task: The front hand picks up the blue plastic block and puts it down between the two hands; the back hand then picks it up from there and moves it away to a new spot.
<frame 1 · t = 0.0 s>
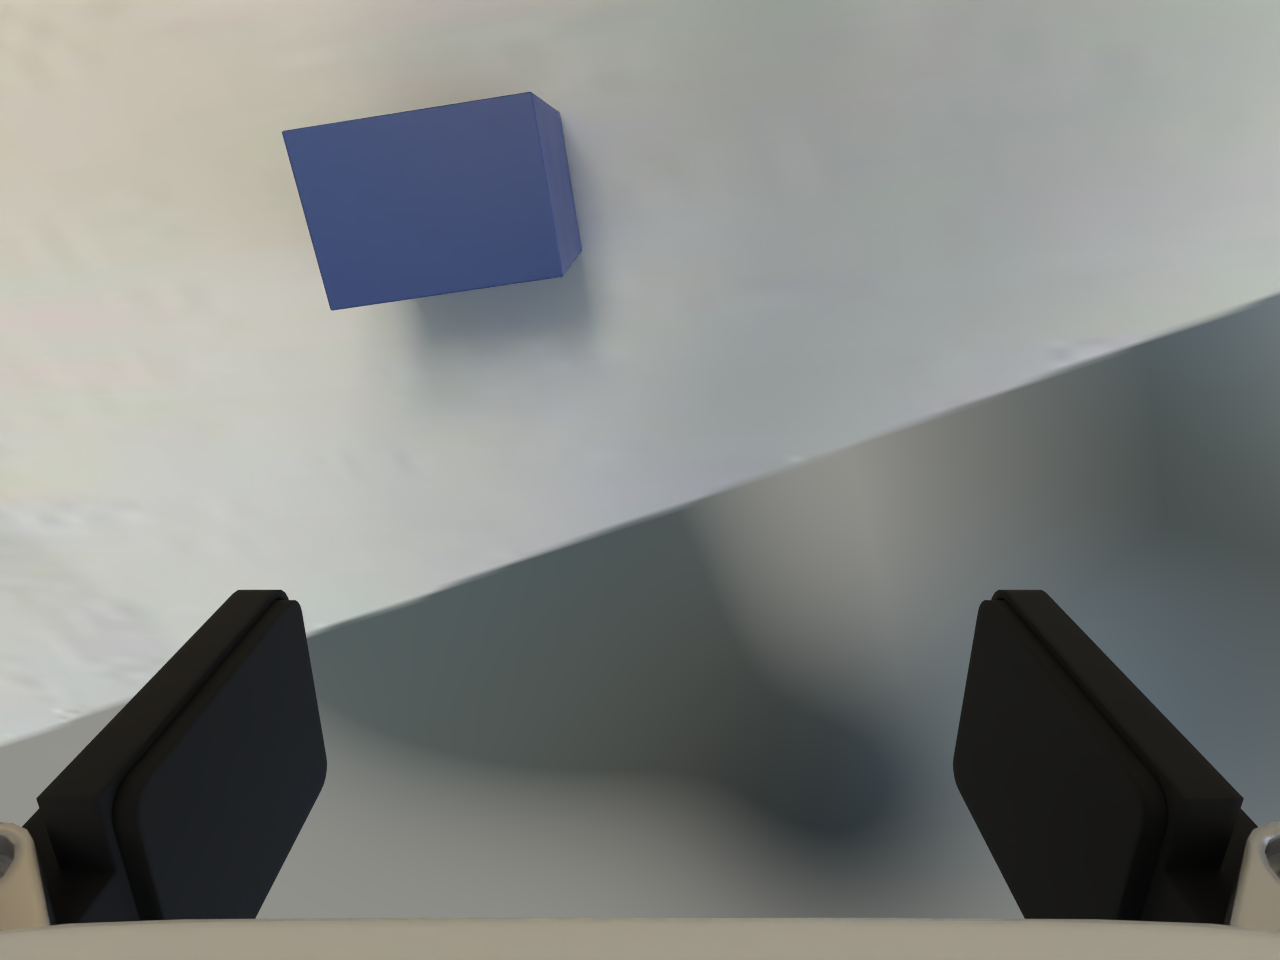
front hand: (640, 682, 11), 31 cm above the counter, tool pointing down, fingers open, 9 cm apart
block: (479, 197, 38), on the counter
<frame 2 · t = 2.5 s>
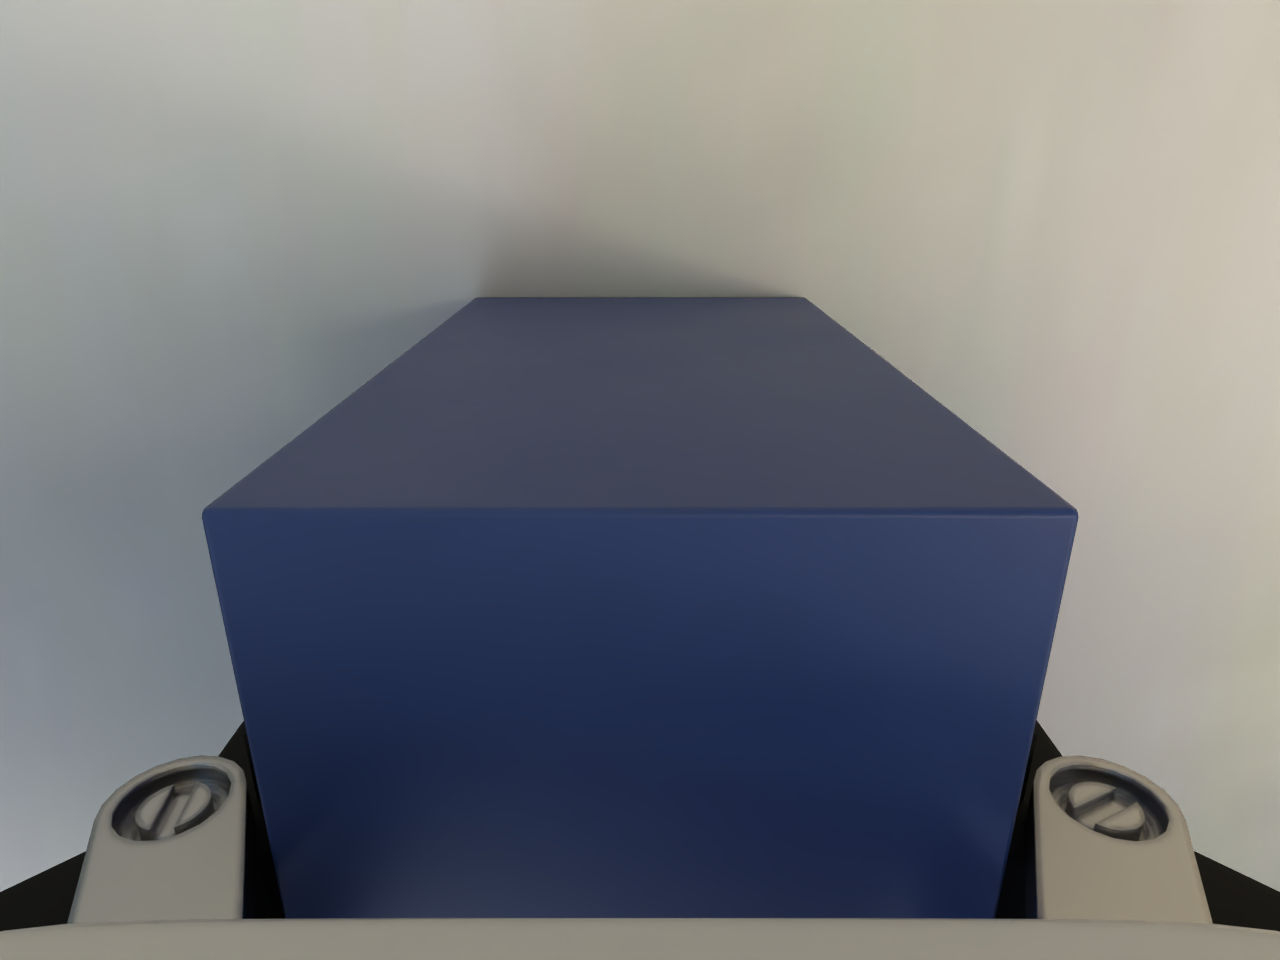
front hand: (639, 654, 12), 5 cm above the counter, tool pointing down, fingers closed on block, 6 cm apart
block: (640, 513, 17), on the counter, touching front hand
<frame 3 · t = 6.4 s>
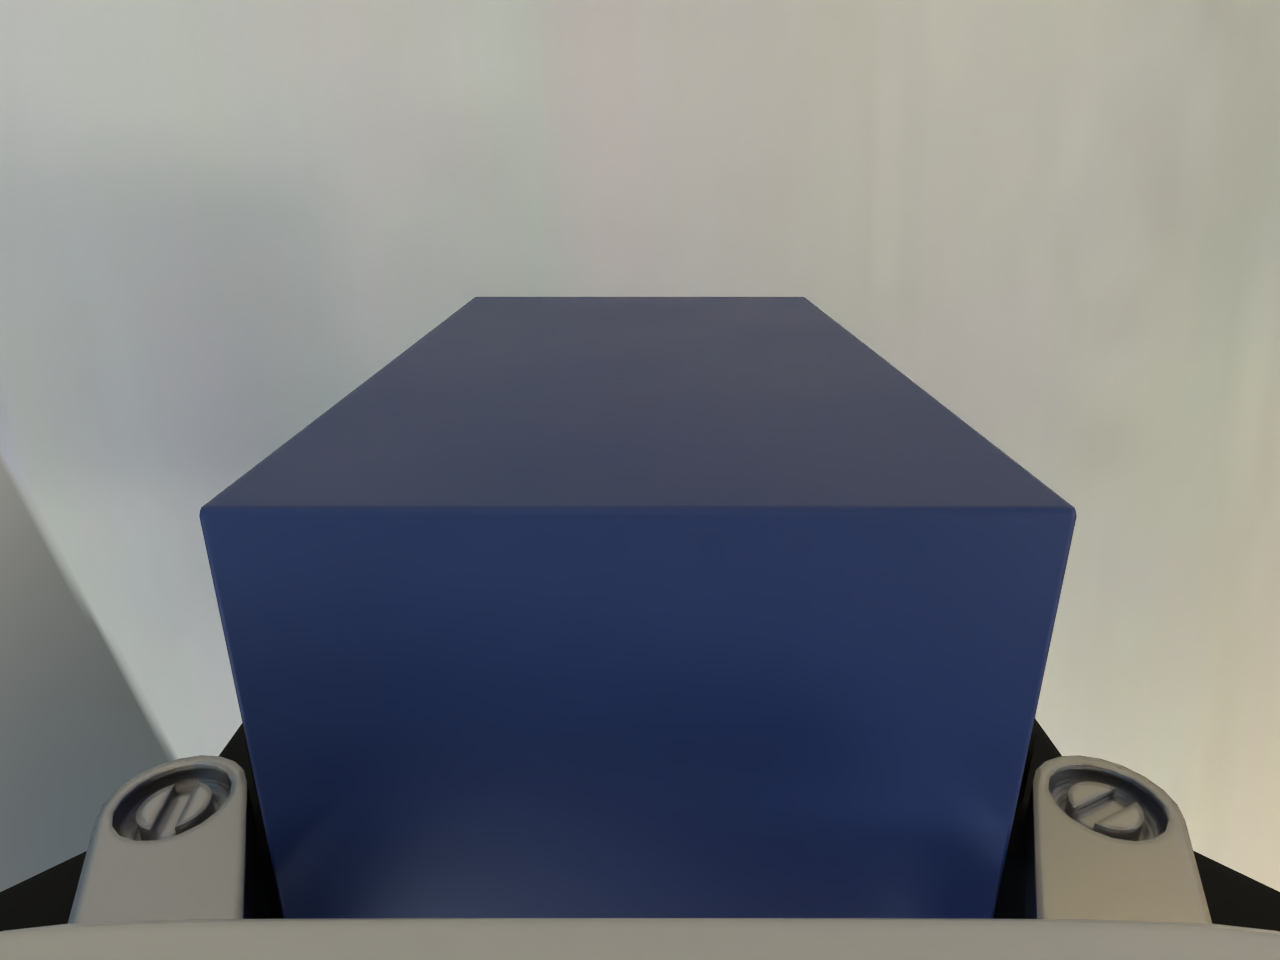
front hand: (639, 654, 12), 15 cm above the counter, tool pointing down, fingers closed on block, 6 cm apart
block: (639, 512, 17), point 10 cm above the counter, touching front hand
when the front hand's fingers open (6 cm above the counter, at t = 10.5 s): block drops 1 cm, on the counter.
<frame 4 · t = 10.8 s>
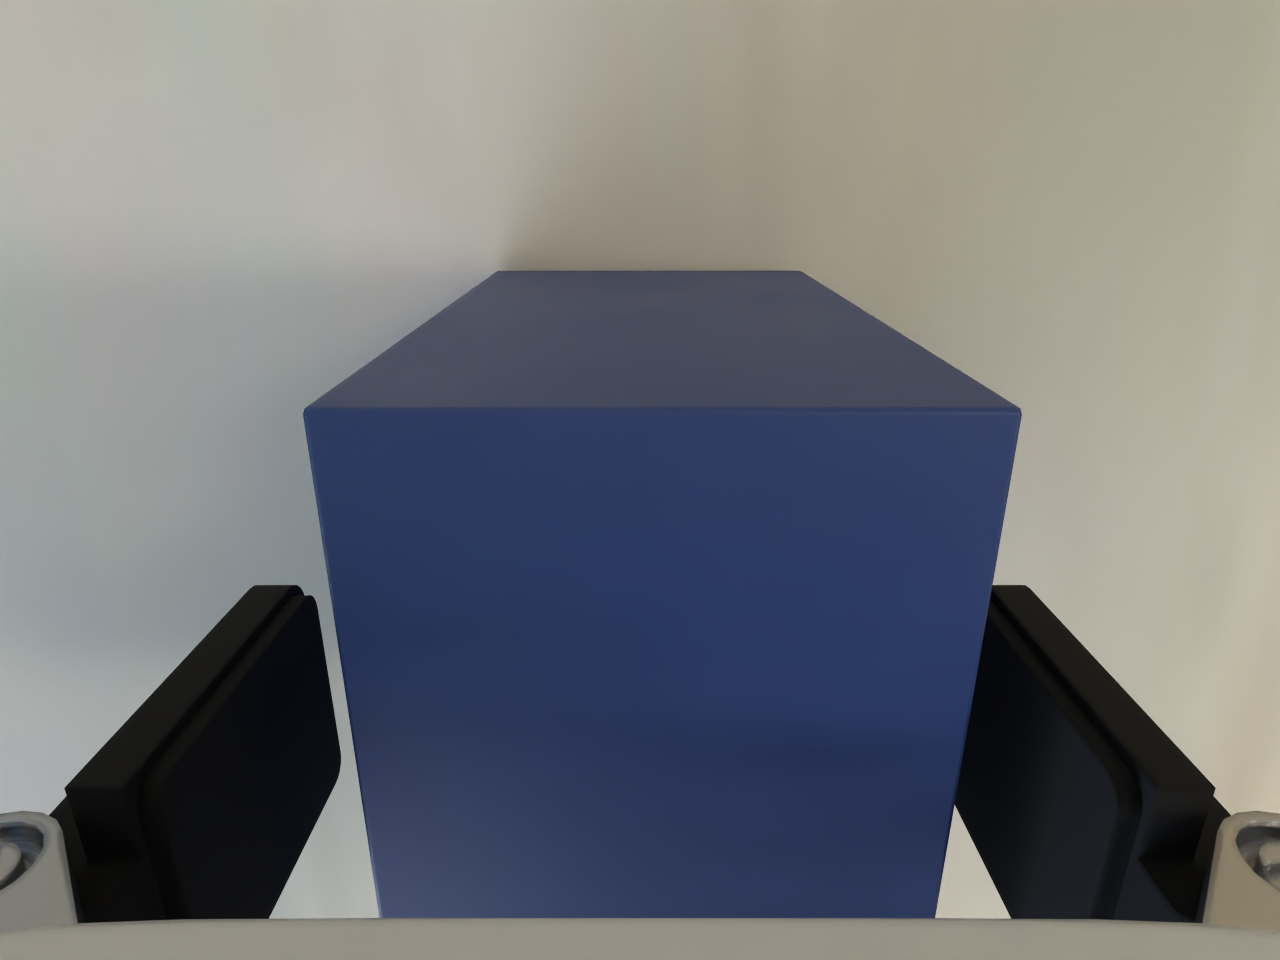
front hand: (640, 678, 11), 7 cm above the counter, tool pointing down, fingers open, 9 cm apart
block: (648, 474, 18), on the counter
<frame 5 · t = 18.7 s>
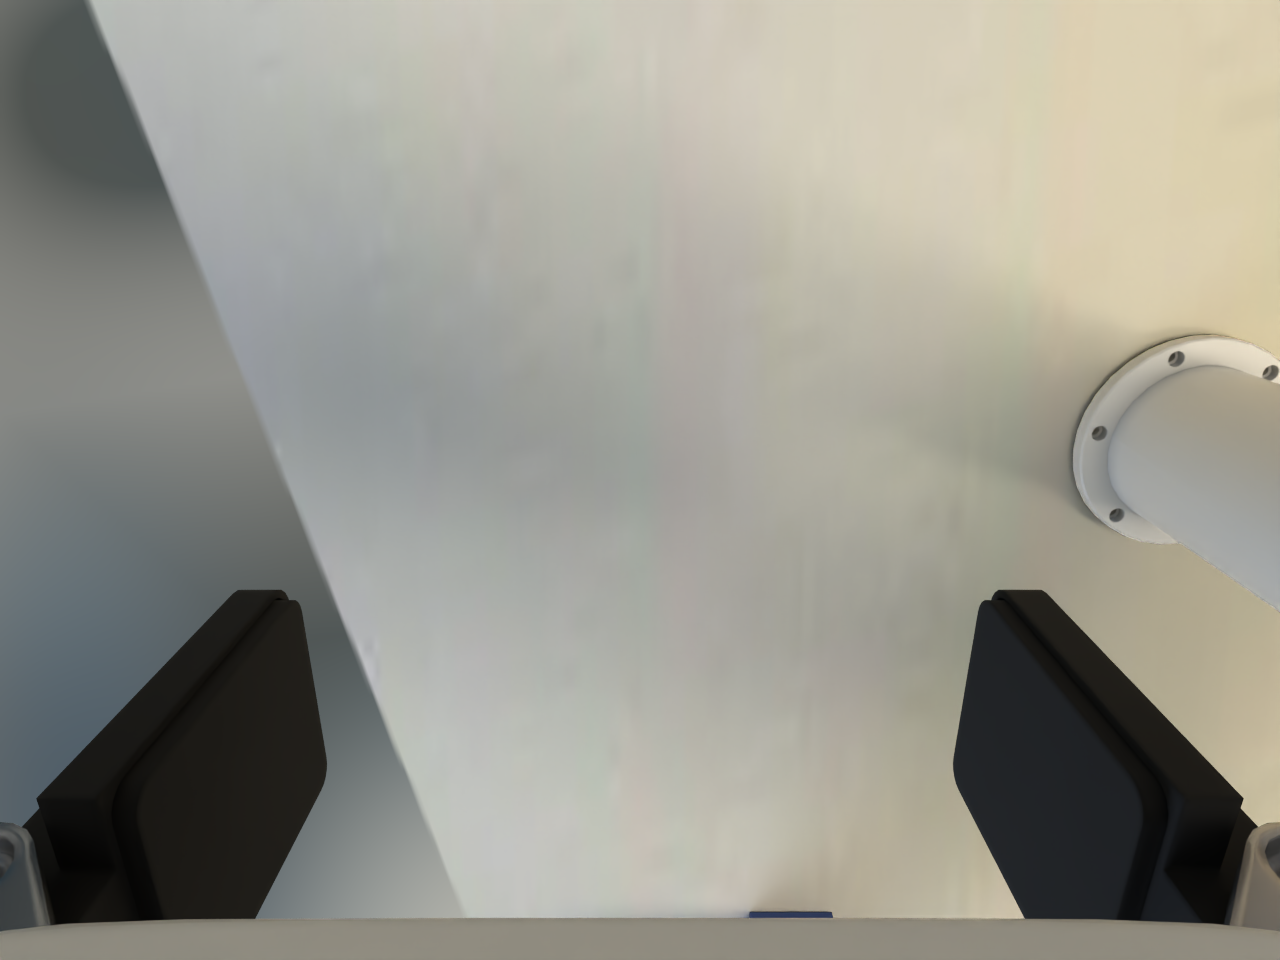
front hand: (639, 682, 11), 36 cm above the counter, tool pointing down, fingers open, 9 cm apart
block: (786, 954, 63), on the counter, touching back hand
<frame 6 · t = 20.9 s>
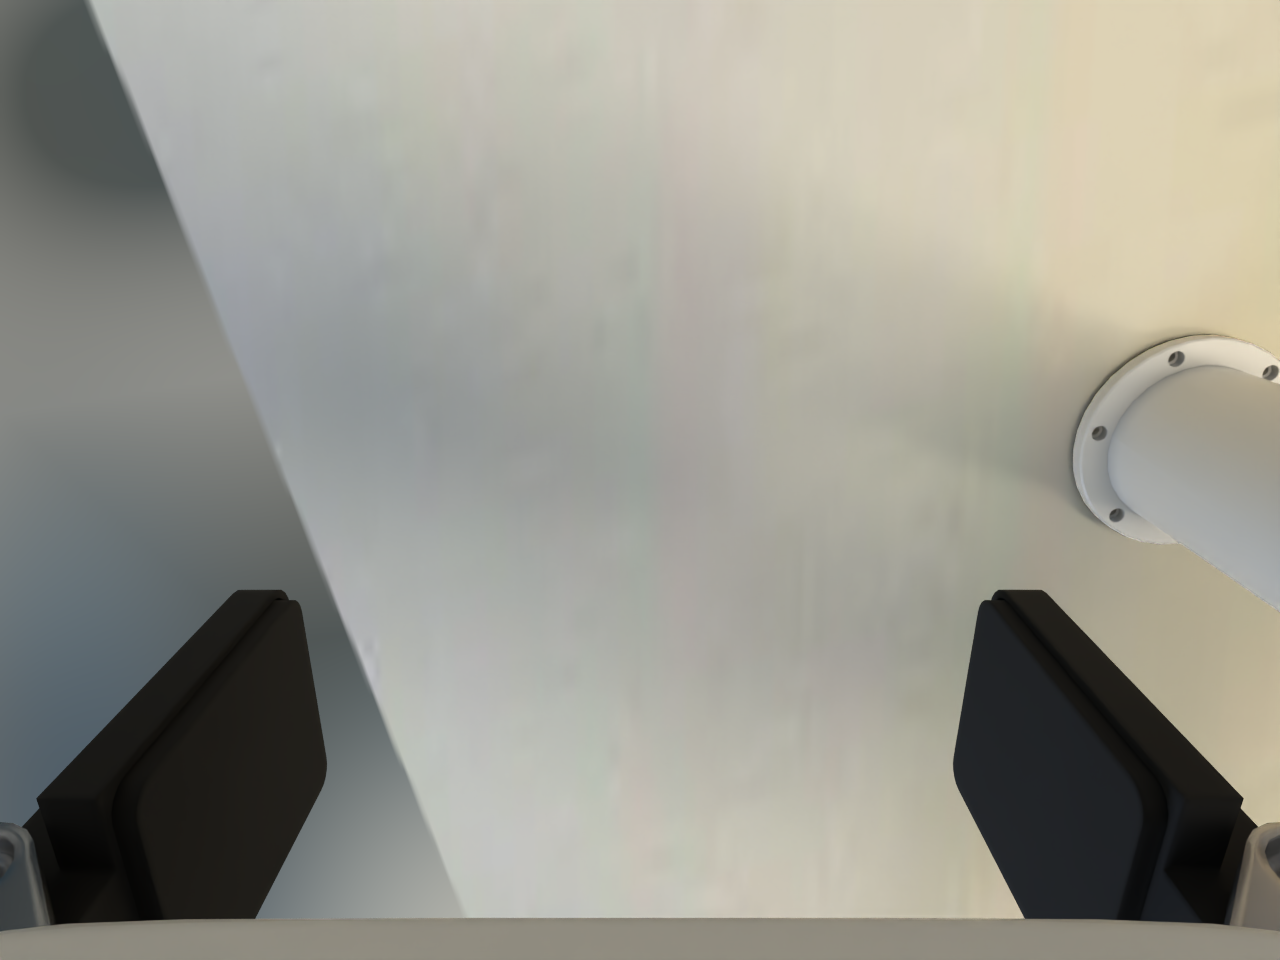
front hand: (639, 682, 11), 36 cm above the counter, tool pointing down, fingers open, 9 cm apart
when the back hand's fingers open (6 cm above the counter, at t = 23.4 s): block drops 1 cm, on the counter.
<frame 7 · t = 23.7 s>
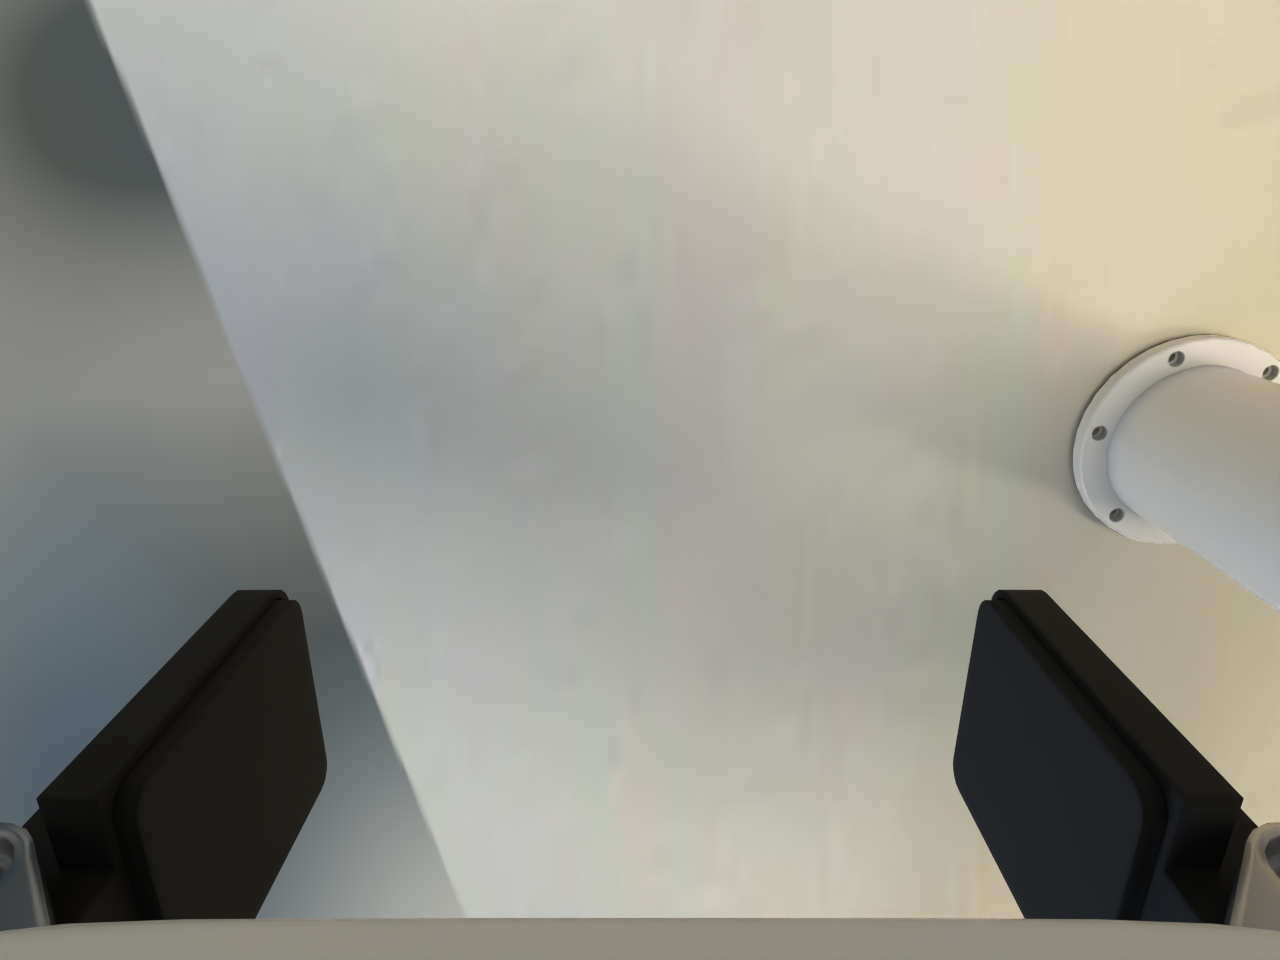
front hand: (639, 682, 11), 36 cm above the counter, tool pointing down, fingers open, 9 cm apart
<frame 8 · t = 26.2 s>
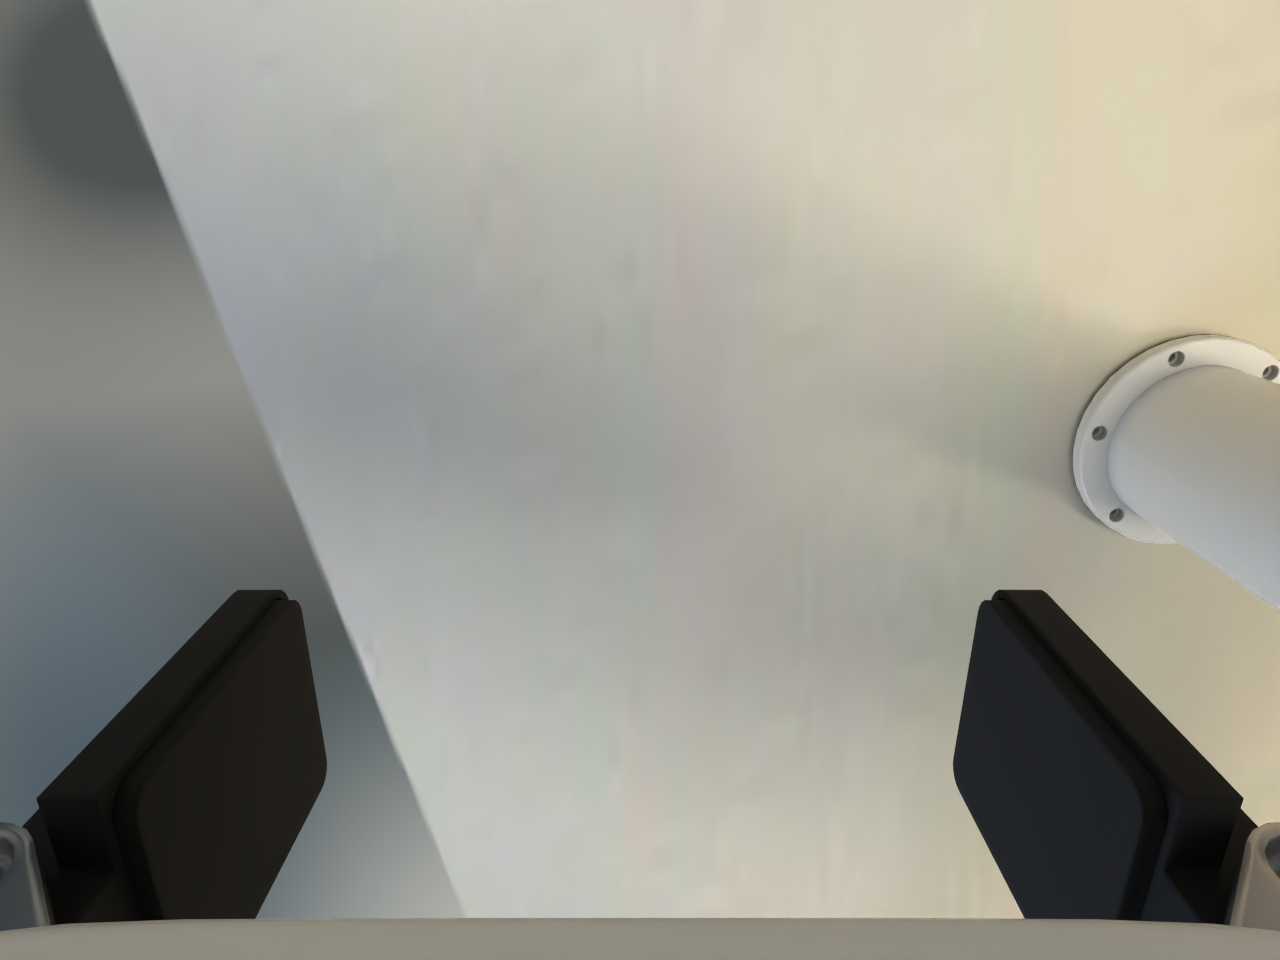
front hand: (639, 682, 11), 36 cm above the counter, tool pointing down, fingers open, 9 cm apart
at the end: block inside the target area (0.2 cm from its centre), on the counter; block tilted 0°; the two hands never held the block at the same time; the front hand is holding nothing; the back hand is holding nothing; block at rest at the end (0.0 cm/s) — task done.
